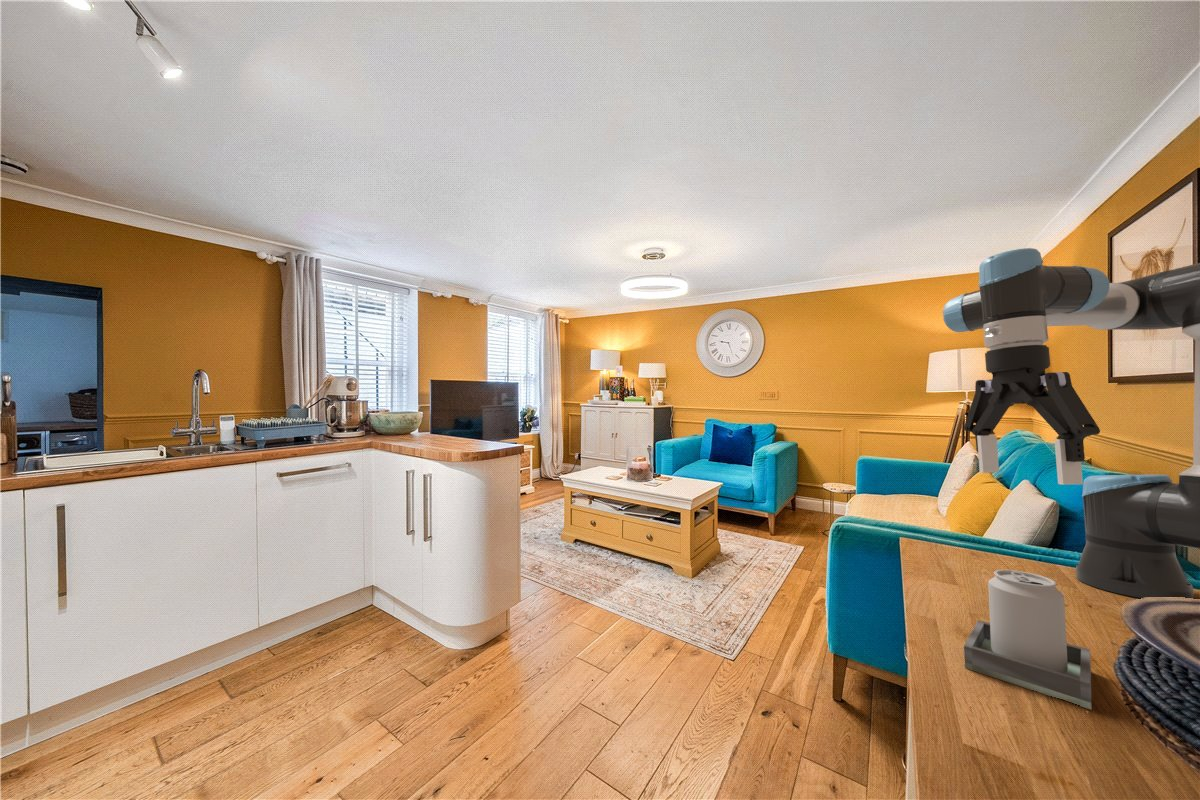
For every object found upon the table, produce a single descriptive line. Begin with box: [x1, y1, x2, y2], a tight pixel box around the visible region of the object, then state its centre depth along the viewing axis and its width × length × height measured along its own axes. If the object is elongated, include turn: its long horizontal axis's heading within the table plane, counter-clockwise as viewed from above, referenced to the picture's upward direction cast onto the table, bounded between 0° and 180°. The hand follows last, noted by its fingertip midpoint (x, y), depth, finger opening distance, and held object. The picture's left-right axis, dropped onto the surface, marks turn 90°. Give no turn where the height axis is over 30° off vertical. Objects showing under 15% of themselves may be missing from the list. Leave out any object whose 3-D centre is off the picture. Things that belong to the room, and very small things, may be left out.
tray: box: [963, 619, 1092, 711], centre depth 59 cm, size 12×12×3 cm
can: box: [987, 569, 1068, 673], centre depth 59 cm, size 8×8×12 cm
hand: (1026, 477), depth 69 cm, fingers open, 13 cm apart
